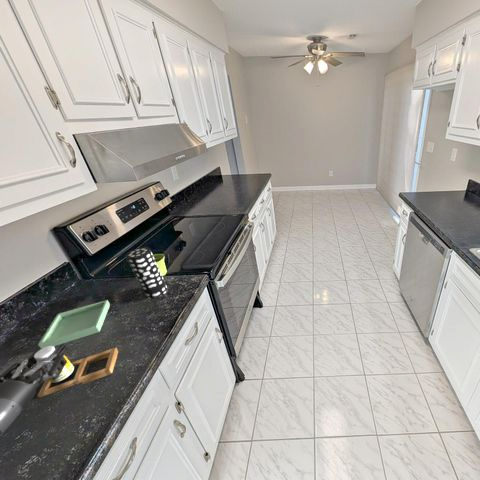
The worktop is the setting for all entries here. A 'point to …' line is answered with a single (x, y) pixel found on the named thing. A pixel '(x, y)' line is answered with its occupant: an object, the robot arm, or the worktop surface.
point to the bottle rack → (82, 363)
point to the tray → (75, 324)
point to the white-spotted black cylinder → (147, 272)
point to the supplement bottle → (46, 354)
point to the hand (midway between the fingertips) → (53, 348)
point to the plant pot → (160, 263)
